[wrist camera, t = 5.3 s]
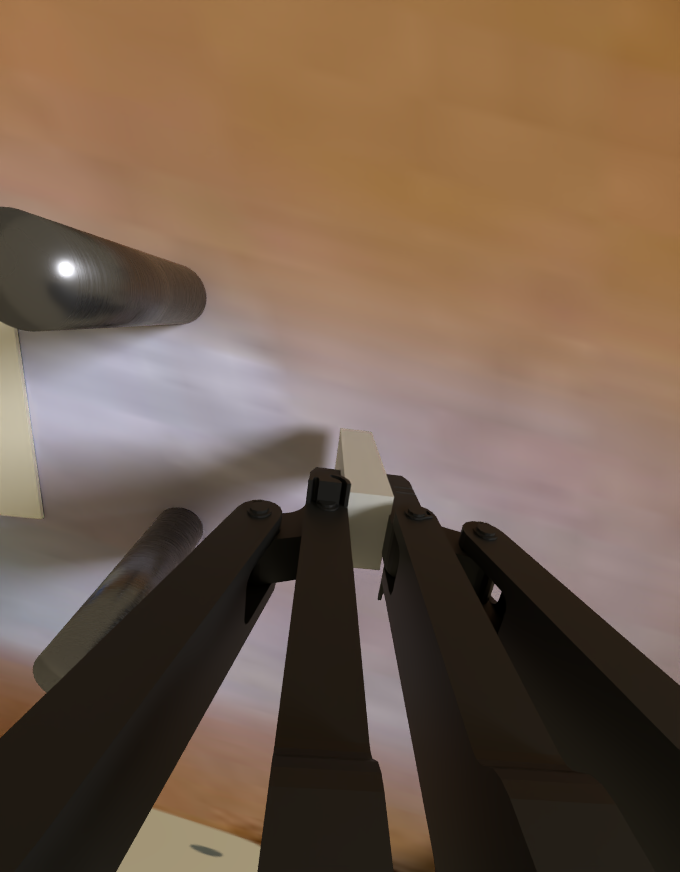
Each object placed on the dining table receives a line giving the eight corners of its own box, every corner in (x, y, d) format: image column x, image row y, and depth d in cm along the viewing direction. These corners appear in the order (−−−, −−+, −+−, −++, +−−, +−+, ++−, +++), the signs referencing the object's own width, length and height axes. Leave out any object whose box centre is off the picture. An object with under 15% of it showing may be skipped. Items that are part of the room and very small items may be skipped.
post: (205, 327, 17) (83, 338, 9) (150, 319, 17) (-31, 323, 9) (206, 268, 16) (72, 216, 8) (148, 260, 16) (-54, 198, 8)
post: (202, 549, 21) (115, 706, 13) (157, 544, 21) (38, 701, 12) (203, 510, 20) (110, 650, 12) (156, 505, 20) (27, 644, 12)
